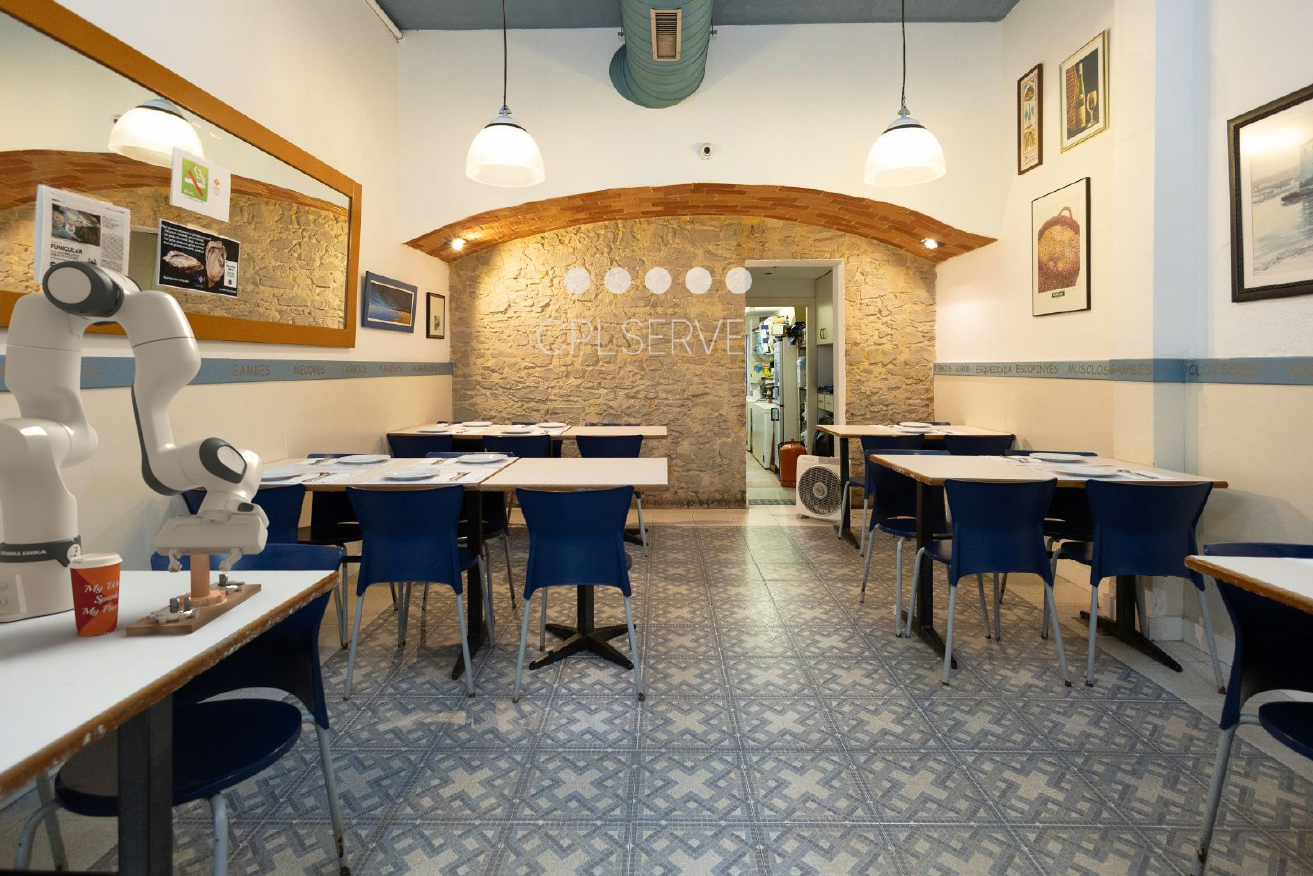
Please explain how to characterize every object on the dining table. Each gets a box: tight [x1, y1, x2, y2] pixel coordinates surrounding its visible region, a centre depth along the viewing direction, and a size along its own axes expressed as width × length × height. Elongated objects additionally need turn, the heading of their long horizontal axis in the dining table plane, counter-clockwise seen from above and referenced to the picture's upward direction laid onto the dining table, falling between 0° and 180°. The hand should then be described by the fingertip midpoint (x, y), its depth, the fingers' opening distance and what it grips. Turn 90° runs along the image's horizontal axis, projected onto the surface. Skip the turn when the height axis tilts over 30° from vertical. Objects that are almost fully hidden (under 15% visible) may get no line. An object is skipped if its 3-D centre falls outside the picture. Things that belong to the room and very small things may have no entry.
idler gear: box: [176, 552, 226, 608], centre depth 132 cm, size 8×8×10 cm
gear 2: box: [210, 573, 246, 595], centre depth 141 cm, size 8×8×4 cm
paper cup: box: [67, 551, 123, 637], centre depth 120 cm, size 8×8×14 cm
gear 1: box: [148, 596, 200, 624], centre depth 124 cm, size 8×8×4 cm
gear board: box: [125, 583, 262, 636], centre depth 133 cm, size 11×28×2 cm, turn 8°
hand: (198, 570), depth 132 cm, fingers open, 8 cm apart
